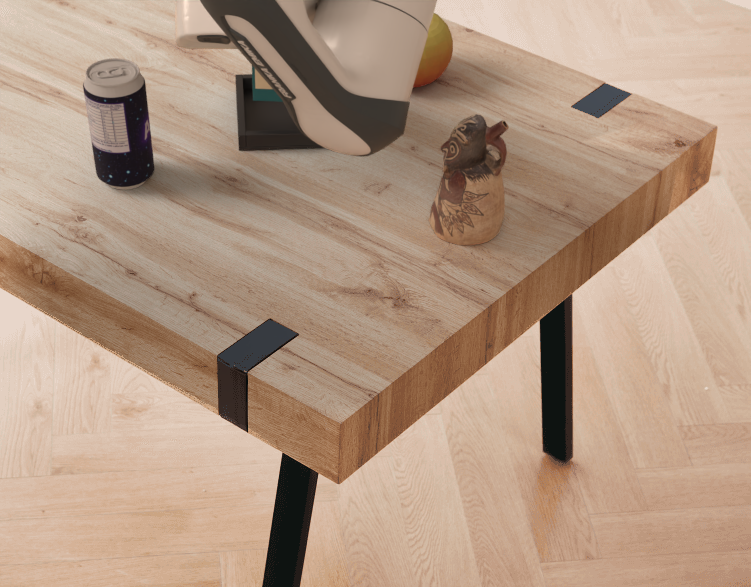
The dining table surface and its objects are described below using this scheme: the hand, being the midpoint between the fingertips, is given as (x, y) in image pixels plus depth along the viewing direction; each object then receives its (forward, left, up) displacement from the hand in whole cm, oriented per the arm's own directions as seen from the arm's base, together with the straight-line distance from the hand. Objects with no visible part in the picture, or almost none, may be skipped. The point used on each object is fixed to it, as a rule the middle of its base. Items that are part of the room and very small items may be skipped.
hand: (279, 46), depth 112 cm
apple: (+17, +3, -8) cm, 19 cm away
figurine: (+10, -24, -8) cm, 28 cm away
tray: (0, 0, -8) cm, 8 cm away
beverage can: (-19, -5, -8) cm, 21 cm away
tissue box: (0, 0, -4) cm, 4 cm away
